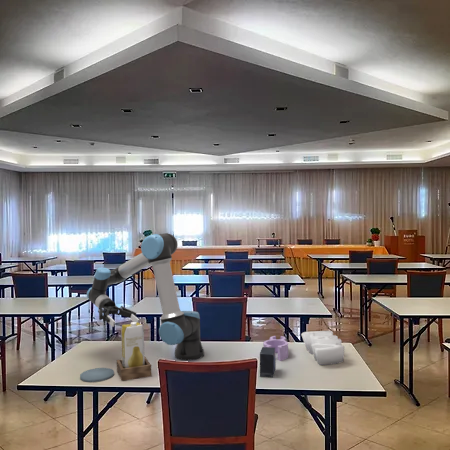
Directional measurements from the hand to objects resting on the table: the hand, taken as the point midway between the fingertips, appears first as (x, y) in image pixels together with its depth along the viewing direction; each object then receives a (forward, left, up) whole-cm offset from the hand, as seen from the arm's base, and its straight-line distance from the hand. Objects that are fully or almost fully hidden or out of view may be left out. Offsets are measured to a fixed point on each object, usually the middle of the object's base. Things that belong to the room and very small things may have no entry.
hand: (126, 323), depth 213 cm
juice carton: (-1, +9, -22) cm, 24 cm away
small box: (-57, +36, -22) cm, 71 cm away
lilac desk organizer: (-73, +14, -22) cm, 78 cm away
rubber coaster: (+15, +5, -22) cm, 27 cm away
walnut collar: (-1, +9, -22) cm, 23 cm away
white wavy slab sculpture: (-93, +26, -22) cm, 99 cm away
